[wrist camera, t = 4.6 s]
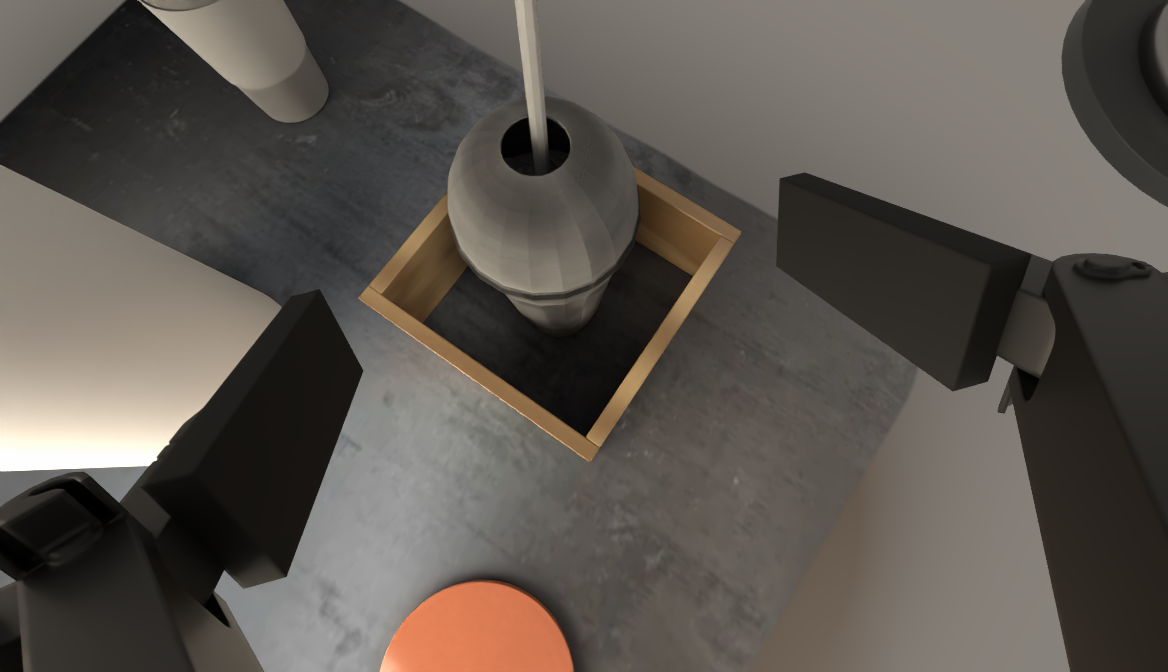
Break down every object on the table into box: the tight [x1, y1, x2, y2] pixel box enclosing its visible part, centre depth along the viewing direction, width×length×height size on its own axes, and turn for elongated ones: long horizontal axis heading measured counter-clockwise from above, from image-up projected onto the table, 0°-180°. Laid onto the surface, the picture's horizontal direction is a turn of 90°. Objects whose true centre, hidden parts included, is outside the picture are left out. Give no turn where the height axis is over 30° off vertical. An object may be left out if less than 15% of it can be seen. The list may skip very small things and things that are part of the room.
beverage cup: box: [448, 0, 641, 337], centre depth 19 cm, size 7×7×20 cm
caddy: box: [359, 166, 741, 462], centre depth 26 cm, size 14×14×6 cm
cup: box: [139, 0, 329, 123], centre depth 27 cm, size 7×7×12 cm
